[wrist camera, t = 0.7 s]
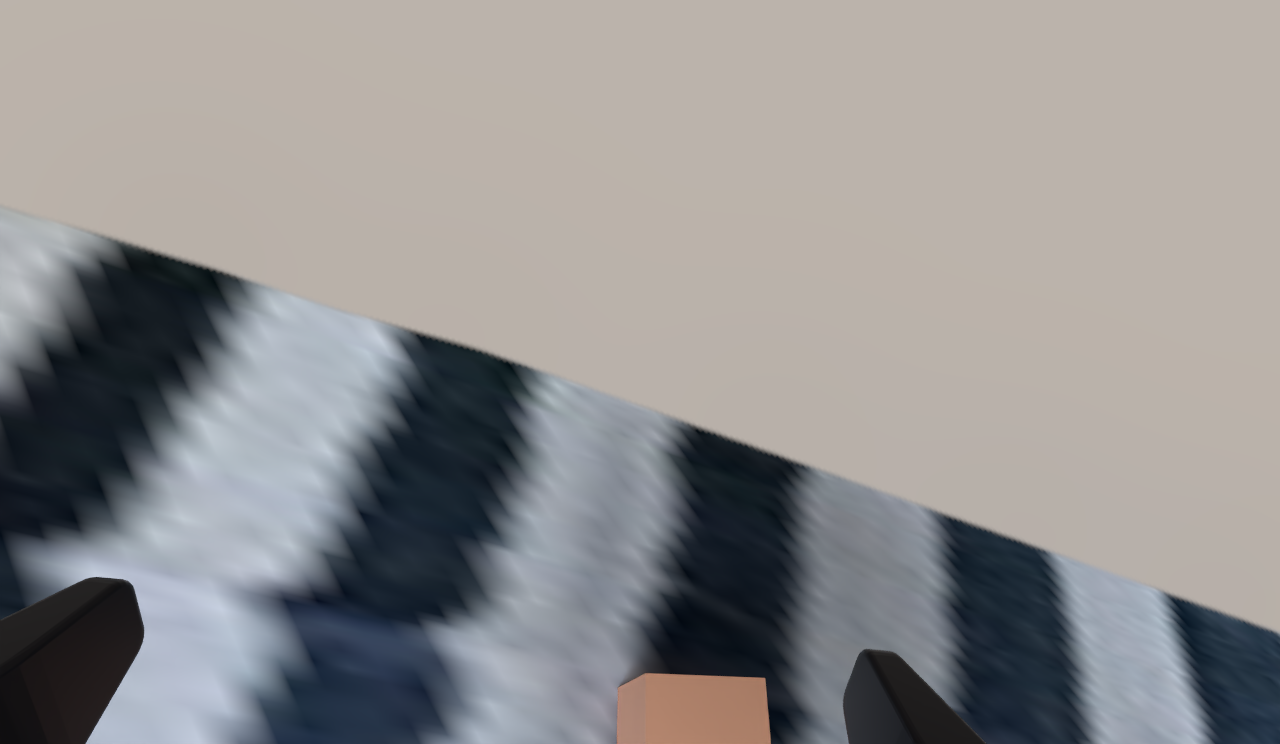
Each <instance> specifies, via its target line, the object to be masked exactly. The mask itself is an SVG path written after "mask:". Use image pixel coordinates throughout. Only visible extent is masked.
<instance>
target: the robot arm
mask: <svg viewBox="0 0 1280 744" xmlns="http://www.w3.org/2000/svg"><path fill="white" fill-rule="evenodd" d="M143 638H144V625H143V621H142V618H141V614H140V610H139V606H138V602H137V598H136V594H135V590H134V587H133V585H132V584H131V583H130V582H128V581H126V580H123V579H112V578H101V577H93V578H88V579H85V580H83V581H80V582H78V583H76V584H74V585H72V586H70V587H68V588H66V589H64V590H62V591H59V592H57V593H55V594H53V595H51V596H49V597H47V598H45V599H43V600H41V601H39V602H37V603H35V604H33V605H31V606H28V607H26V608H24V609H22V610H20V611H18V612H16V613H14V614H12V615H10V616H8V617H6V618H4V619H2V620H0V744H86V742H87V740H88V738H89V737H90V735H91V733H92V731H93V730H94V728H95V726H96V725H97V723H98V721H99V719H100V718H101V716H102V714H103V712H104V711H105V709H106V707H107V706H108V704H109V702H110V700H111V699H112V697H113V695H114V694H115V692H116V690H117V688H118V687H119V685H120V683H121V681H122V680H123V678H124V676H125V675H126V673H127V671H128V669H129V668H130V666H131V664H132V663H133V661H134V659H135V657H136V656H137V654H138V652H139V650H140V648H141V645H142V643H143ZM843 709H844V717H845V722H846V728H847V734H848V740H849V744H986V743H985V742H984V741H983V740H982V739H981V738H980V737H979V736H978V735H977V734H976V733H975V732H974V731H973V730H972V729H971V728H970V727H969V726H968V725H967V723H966V722H965V721H964V720H963V719H962V718H961V717H960V716H959V715H958V714H957V713H956V712H955V711H954V710H953V709H952V708H951V707H950V706H949V705H948V704H947V703H946V702H945V701H944V700H943V699H942V698H941V697H940V696H939V695H938V694H937V693H936V692H935V691H934V690H933V689H932V688H931V687H930V686H929V685H928V684H927V683H926V682H925V681H924V680H923V679H922V678H921V677H920V676H919V675H918V674H917V673H916V672H915V671H914V670H913V669H912V668H911V667H910V666H909V665H908V664H907V663H906V662H905V661H904V660H903V659H902V658H901V657H900V656H899V655H897V654H896V653H894V652H891V651H883V650H872V649H865V650H863V651H862V652H861V653H860V654H859V656H858V658H857V660H856V663H855V666H854V668H853V671H852V674H851V676H850V679H849V682H848V684H847V687H846V690H845V693H844V699H843Z"/></svg>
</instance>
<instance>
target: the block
mask: <svg viewBox="0 0 1280 744" xmlns="http://www.w3.org/2000/svg"><path fill="white" fill-rule="evenodd" d="M617 744H771V739H770V727H769V716H768V705H767V693H766V682H765V678H753V677H728V676H703V675H678V674H653V673H645V674H643V675H641V676H639V677H637V678H635V679H633V680H632V681H630V682H628V683H626V684H624V685H622V686H620V687H618V711H617Z"/></svg>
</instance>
